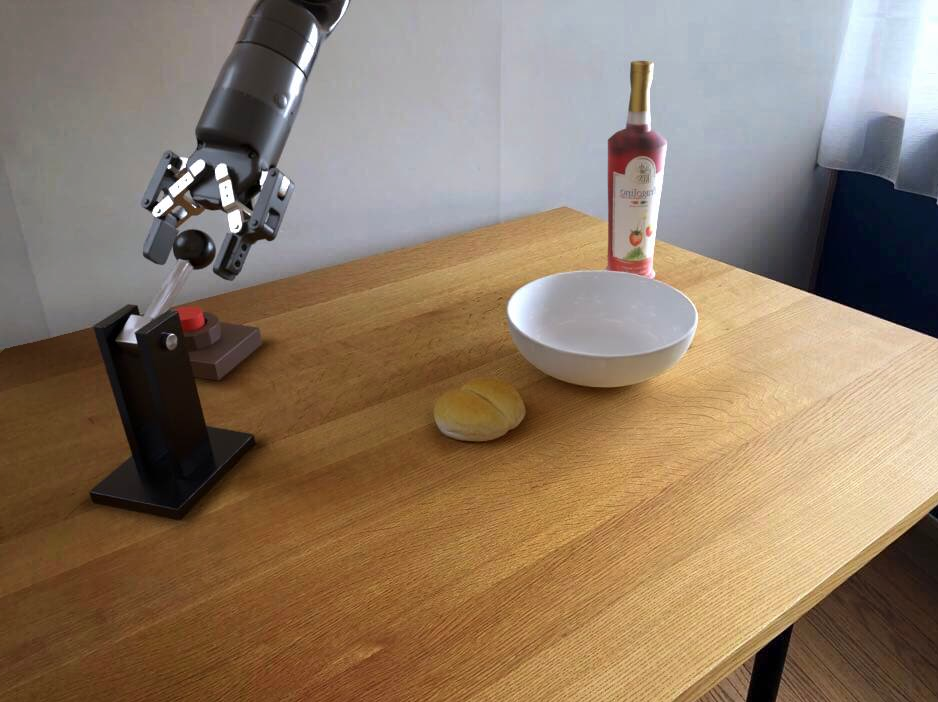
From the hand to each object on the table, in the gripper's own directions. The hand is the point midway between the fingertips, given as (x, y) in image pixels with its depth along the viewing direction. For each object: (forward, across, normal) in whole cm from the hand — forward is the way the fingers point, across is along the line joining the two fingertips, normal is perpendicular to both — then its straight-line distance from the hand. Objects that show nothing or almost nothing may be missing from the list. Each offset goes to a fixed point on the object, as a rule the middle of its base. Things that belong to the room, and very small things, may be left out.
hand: (186, 268), depth 77 cm
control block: (+5, +14, -19) cm, 24 cm away
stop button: (+2, +14, -17) cm, 22 cm away
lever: (+3, -1, 0) cm, 3 cm away
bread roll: (+3, -22, -21) cm, 31 cm away
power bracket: (+17, -2, -7) cm, 19 cm away
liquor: (-24, -24, -48) cm, 59 cm away
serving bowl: (-8, -29, -32) cm, 44 cm away
